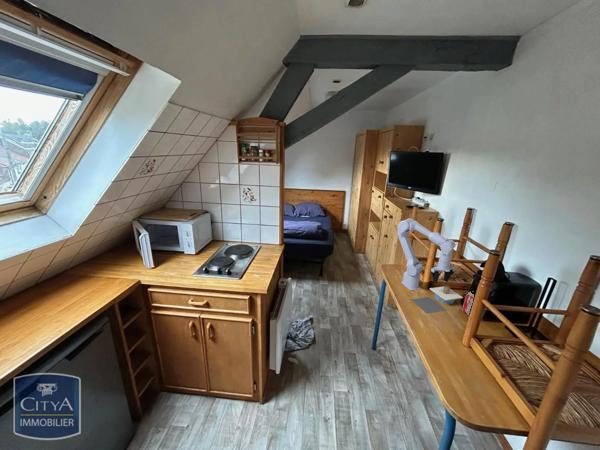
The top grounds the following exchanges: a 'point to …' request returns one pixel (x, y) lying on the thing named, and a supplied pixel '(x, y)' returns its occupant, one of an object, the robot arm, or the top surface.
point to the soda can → (468, 303)
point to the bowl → (444, 300)
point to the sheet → (440, 293)
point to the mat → (428, 305)
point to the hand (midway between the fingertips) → (440, 281)
